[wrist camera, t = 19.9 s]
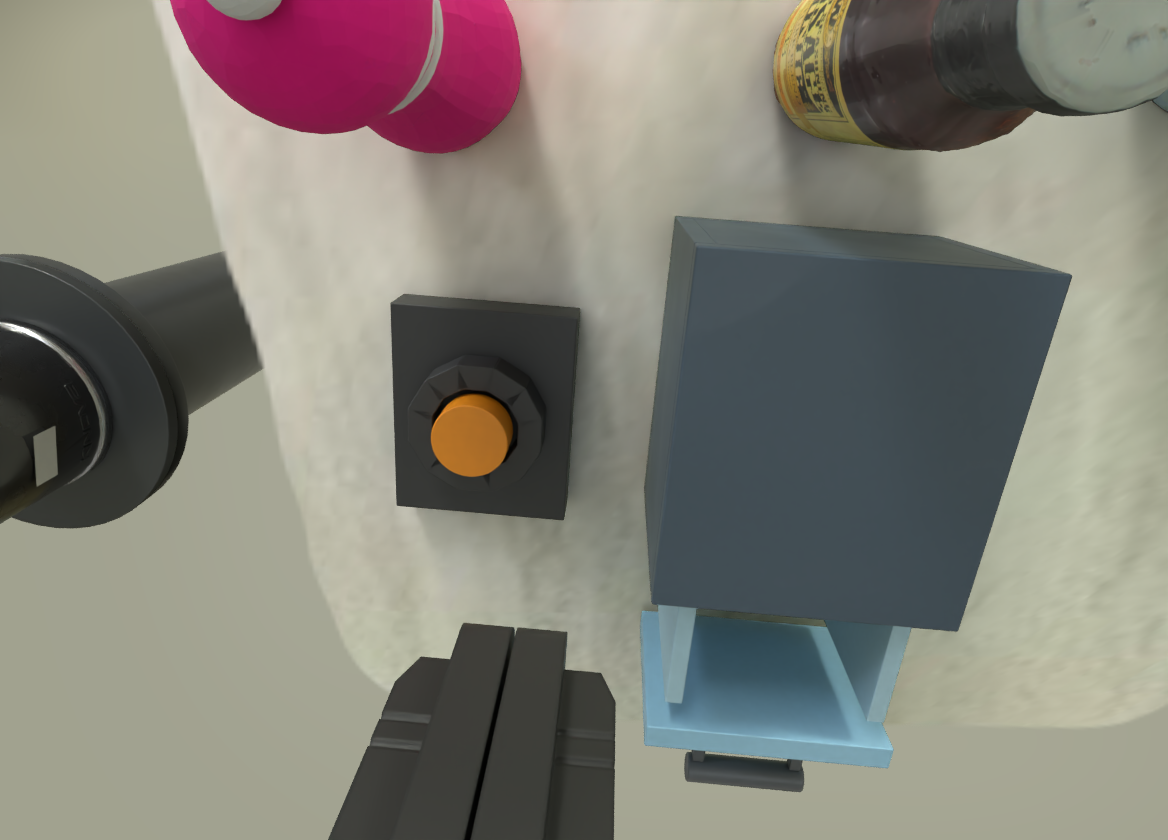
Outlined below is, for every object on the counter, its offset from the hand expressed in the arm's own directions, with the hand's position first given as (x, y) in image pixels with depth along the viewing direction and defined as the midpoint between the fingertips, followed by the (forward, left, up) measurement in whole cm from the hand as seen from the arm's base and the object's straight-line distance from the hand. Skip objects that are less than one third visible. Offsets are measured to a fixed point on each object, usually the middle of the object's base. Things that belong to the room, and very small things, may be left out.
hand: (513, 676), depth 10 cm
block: (-5, -6, -27) cm, 28 cm away
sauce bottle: (+10, +11, -27) cm, 31 cm away
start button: (-5, -6, -23) cm, 25 cm away
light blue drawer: (+10, -14, -26) cm, 31 cm away
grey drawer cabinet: (+10, -3, -27) cm, 29 cm away
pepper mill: (-7, +10, -27) cm, 30 cm away
